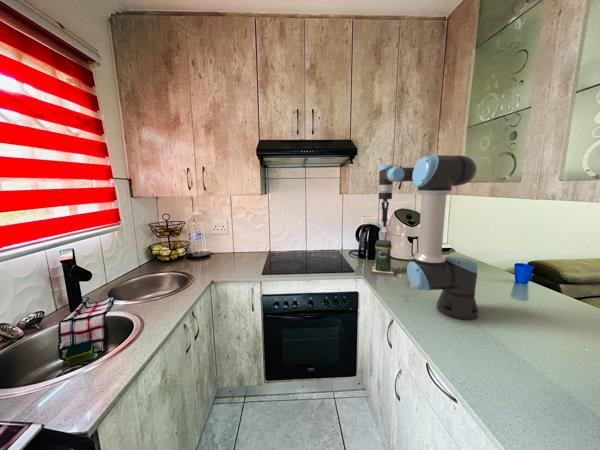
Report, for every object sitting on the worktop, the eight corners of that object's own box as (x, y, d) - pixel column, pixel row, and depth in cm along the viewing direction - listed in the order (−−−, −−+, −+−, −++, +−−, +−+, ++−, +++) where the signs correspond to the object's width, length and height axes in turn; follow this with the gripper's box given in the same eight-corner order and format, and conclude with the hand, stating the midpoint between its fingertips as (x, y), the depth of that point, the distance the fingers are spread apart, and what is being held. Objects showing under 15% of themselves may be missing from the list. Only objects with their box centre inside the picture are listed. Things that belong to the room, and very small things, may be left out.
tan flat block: (394, 276, 148) (394, 273, 147) (371, 274, 151) (371, 271, 151) (392, 270, 158) (392, 267, 158) (371, 268, 162) (371, 266, 161)
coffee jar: (391, 268, 156) (392, 239, 153) (390, 272, 149) (391, 242, 146) (374, 266, 160) (375, 238, 157) (373, 270, 152) (374, 241, 150)
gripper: (378, 192, 154) (377, 229, 157) (378, 192, 142) (377, 233, 145) (391, 192, 152) (390, 230, 155) (393, 192, 139) (391, 234, 143)
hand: (384, 231), depth 150 cm, fingers closed
